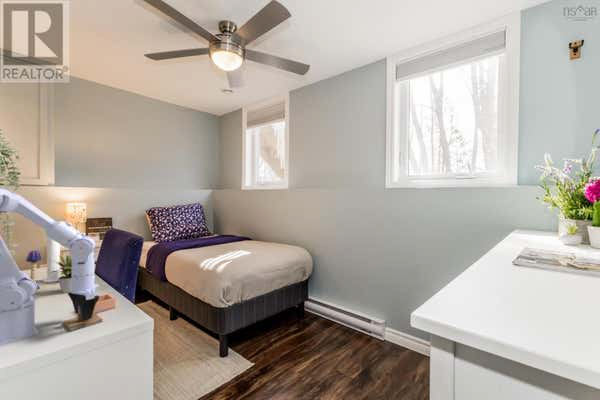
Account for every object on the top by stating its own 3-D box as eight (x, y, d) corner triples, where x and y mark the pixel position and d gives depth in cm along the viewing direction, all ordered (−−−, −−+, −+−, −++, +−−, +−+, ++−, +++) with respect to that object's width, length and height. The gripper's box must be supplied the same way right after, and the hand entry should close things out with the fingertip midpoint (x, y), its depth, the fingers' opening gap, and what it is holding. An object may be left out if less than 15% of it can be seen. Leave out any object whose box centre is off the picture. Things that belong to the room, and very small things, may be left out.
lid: (70, 331, 80) (70, 312, 80) (63, 323, 84) (63, 305, 84) (102, 321, 86) (102, 304, 86) (94, 314, 91) (94, 298, 91)
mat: (69, 333, 79) (69, 332, 79) (62, 324, 84) (62, 323, 84) (103, 322, 86) (103, 321, 86) (94, 315, 91) (94, 314, 91)
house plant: (34, 295, 108) (33, 255, 108) (70, 284, 121) (70, 249, 121) (60, 298, 105) (60, 258, 104) (94, 287, 118) (94, 251, 118)
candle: (47, 279, 128) (47, 228, 127) (65, 277, 131) (65, 227, 130) (40, 283, 121) (40, 230, 121) (60, 281, 124) (60, 229, 124)
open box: (91, 315, 91) (91, 304, 91) (85, 310, 95) (85, 299, 95) (115, 308, 96) (115, 298, 96) (108, 303, 101) (108, 293, 101)
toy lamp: (40, 286, 118) (40, 249, 117) (42, 289, 115) (42, 251, 114) (25, 289, 114) (25, 251, 114) (26, 292, 111) (26, 253, 111)
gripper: (105, 275, 84) (106, 317, 84) (91, 267, 93) (91, 305, 93) (77, 281, 78) (77, 326, 79) (64, 272, 87) (65, 312, 87)
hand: (83, 315), depth 85 cm, fingers open, 7 cm apart
